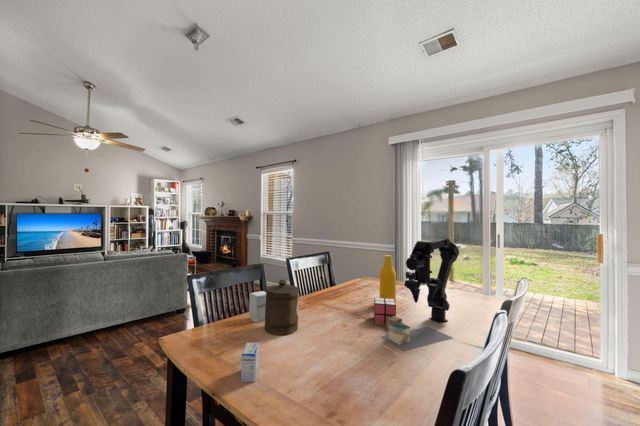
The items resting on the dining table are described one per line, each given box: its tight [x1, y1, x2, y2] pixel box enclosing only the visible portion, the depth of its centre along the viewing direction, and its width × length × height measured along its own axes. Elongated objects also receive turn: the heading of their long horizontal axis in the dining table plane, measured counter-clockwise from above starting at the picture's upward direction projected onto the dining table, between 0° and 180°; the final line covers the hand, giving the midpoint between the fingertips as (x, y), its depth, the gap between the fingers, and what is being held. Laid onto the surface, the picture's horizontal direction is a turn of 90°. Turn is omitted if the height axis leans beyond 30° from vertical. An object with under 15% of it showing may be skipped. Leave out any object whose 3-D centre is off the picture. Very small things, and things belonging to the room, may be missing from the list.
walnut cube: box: [385, 315, 403, 330], centre depth 129 cm, size 5×5×5 cm
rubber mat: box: [380, 325, 454, 352], centre depth 119 cm, size 28×14×1 cm, turn 117°
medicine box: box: [240, 342, 260, 383], centre depth 89 cm, size 8×4×9 cm, turn 5°
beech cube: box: [388, 322, 411, 345], centre depth 116 cm, size 6×6×6 cm
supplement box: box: [248, 290, 266, 323], centre depth 138 cm, size 7×7×13 cm
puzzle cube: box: [373, 297, 397, 325], centre depth 138 cm, size 10×10×10 cm
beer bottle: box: [379, 254, 397, 305], centre depth 163 cm, size 9×9×29 cm
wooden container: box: [264, 279, 299, 336], centre depth 127 cm, size 15×15×22 cm
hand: (423, 301), depth 132 cm, fingers open, 9 cm apart
